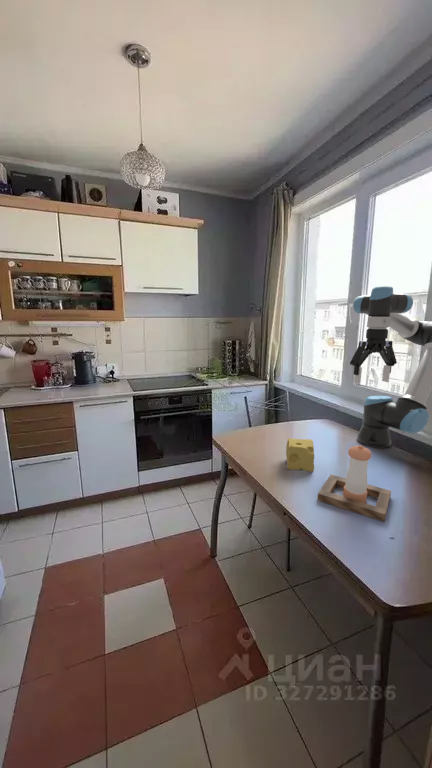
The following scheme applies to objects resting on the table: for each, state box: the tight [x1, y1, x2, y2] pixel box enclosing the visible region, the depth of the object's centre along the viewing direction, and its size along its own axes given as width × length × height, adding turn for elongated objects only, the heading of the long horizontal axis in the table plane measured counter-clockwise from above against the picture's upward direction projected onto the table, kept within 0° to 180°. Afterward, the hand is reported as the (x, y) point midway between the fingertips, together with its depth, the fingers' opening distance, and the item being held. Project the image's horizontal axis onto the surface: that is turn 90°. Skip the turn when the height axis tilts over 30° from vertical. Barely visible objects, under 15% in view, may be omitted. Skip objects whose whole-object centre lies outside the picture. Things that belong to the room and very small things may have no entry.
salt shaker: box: [342, 444, 372, 503], centre depth 104 cm, size 7×7×19 cm
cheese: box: [285, 437, 315, 473], centre depth 129 cm, size 10×11×10 cm
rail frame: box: [317, 474, 392, 523], centre depth 106 cm, size 20×16×2 cm
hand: (371, 382), depth 126 cm, fingers open, 13 cm apart
